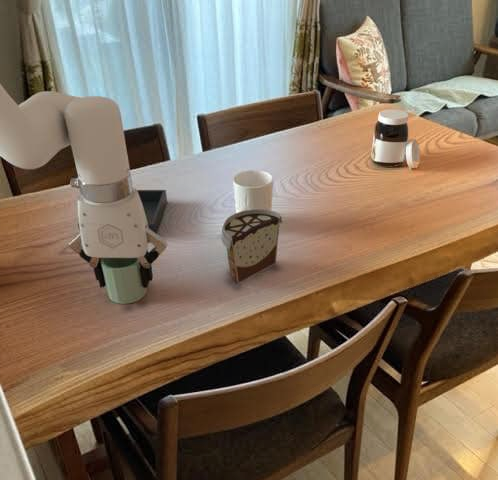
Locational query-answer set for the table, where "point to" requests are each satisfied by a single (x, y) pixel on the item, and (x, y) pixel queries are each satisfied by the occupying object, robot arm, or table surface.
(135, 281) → the green cup
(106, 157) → the robot arm
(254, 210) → the food container
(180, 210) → the table surface
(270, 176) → the white cup
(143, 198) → the serving tray
